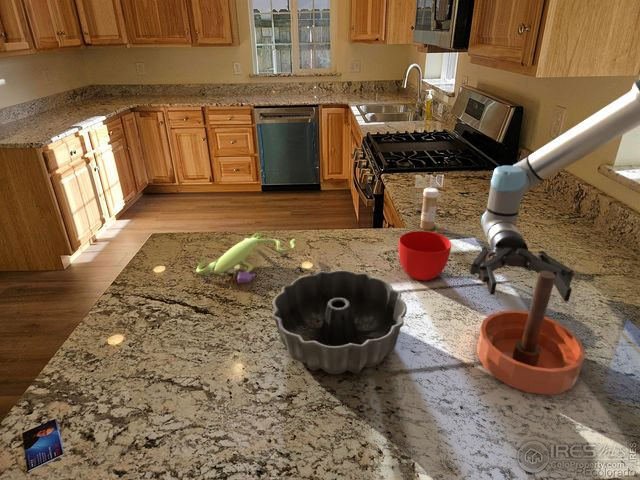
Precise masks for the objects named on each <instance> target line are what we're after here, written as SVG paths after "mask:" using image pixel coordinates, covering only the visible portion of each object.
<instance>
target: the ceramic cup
mask: <svg viewBox="0 0 640 480" xmlns="http://www.w3.org/2000/svg"><path fill="white" fill-rule="evenodd" d="M451 250H452V243H451V240H450V239H448V238H447V237H446V236H444V235H442V234H439V233H437V232H434V231H433V232H432V231H426V230H416V231H409V232H406V233H403V234H401V235H400V237H399V240H398V256H399V257H398V258H399V263H400V265H401V267H402V269H403V271H404V272H405V274H406V275H407V276H408V277H410V278H411V279H413V280H416V281H423V282H424V281H425V282H426V281H432V280H434V279H435V278H437V277H438V276H439V275H440V274H441V273H442V272H443V271H444V270H445V268H446V266H447V263H448V260H449V258H450V254H451Z"/></svg>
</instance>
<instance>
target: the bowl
mask: <svg viewBox="0 0 640 480" xmlns="http://www.w3.org/2000/svg"><path fill="white" fill-rule="evenodd" d="M528 314H529V311H523V310H502V311H498V312H495V313H491V314H490V315H488V316H487V317H485V318H484V319H483V321H482V323H481V326H480V330H479V335H478V340H477V344H476V353H477V358H478V360H479V361H480V363H481V365H482V367H483V368H484V369H485V370H486V371H487V372H488V373H489V374H491V375H492V377H494V378H496V379H497V380H499V381H501V382H502V383H504V384H505V385H507V386H509V387H511V388H514V389H517V390H520V391H522V392H525V393H531V394H538V395H556V394H562V393H564V392H566V391H568V390H570V389H572V387H574V385H575V384H576V382H577V381H578V378H579V376H580V372H581V369H582V367H583V365H584V361H585V355H586V354H585V353H586V350H585V347H584V345H583V344H582V342H581V339H580V338H579V337H578V336H577V335H576V334H574V332H573V331H572V330H571V329H569V328H568V327H566V326H565V325H562V324H561V323H560V322H558V321H556V320H553V319H551V318H549V317H546V316H545V317H544V321H543V324H542V328H541V332H540V335H539V339H538V343H537V345H538V346H539V347H540V349H541V352H540V356H539V360H538V363H537V365H536V366H535V367H533V366H530V365H527V364H524V363H521V362H517V361H515V360H514V359H513V352H514V348H515V344H516V342H517V341H519V340H522V338H523V334H524V330H525V326H526V322H527V318H528Z"/></svg>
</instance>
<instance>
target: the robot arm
mask: <svg viewBox="0 0 640 480" xmlns="http://www.w3.org/2000/svg"><path fill="white" fill-rule="evenodd" d="M639 126H640V79H638V80H637V81H635V82H633V85H632V88H631V89H630V90H629V91H628V92H626V93H625V94H622V95H621V96H620V97H619V98H617V99H615V100H614V101H613V102H611V103H609V104H608V105H606V106H604V107H603V108H601V109H600V110H598V111H597V112H595V113H593V114H592V115H590V116H589V117H587V118H585V119H584V120H583V121H581V122H580V123H578V124H576V125H575V126H573V127H571V128H570V129H568V130H567V131H565V132H564V133H562V134H561V135H559V136H557V137H556V138H555V139H553V140H551V141H549V142H548V143H546V144H545V145H544V146H542V147H540V148H539V149H537V150H536V151H534V152H532V153H531V154H529V155H528V156H527V157H525V158H523V159H522V160H520V161H518V162H515V163H513V165H502V166H497V167H496V168H494V170H493V172H492V173H493V174H492V176H491V177H492V178H491V179H490V188H489V192H488V194H489V195H488V200H487V206H486V210H485V212H484V213H483V214H482V216H481V220H480V222H481V228H482V232H483V234H484V235H485V238H486V241H487V242H488V246H489V248H490V249H488V247H487V246H481V249H480V252H479V253H478V254H477V255H476V256H475V258H474V259H473V260H472V261H471V263H470V268H469V274H470V275H476V274H477V275H478V276H477V279H478V280H481V282H482V283H485V284H486V287H487V289H488V292H489V295H491V296H494V295H495V293H496V289H497V281H496V278H495V275H494V271H496V270H498V269H502V268H504V267H505V266H507V267H518V268H522V269H524V270H526V271H528V272H530V271H533V272H535V273H537V274H539V272H540V271H549V272H551V273H553V274H555V276H556V277H555V280H554V284H553V286H555V288H556V290H557V292H558V294H559V295H560V296H561V299H562V300H563V301H564V302H569V300H570V298H571V294H572V291H573V289H572V287H571V282H572V280H573V277H574V273H575V271H574V269H572V268H570V267H568V266H566V265H565V264H563V263H562V262H560V261H559V260H557V259H555V258H553V257H551V256H550V255H548V253H547V252H546V251H544V250H539V251H538V253H533V252H532V251H531V250H529V247H528V243H527V242H526V240H525V239H524V236H523V235H522V233H521V231H520V230H519V229H518V227H517V221H518V216H519V212H520V206H521V202H522V198H523V196H525V194H526V193H528V191H530V190H531V189H532V188H534V187H535V186H537V185H539V184H541V183H543V182H544V181H545V180H547V179H549V178H550V177H552V176H554V175H555V174H557V173H559V172H561V171H562V170H565V169H566V168H569V166H571V165H573V164H575V163H576V162H578V161H580V160H583V158H585V157H587V156H589V155H591V154H592V153H594V152H596V151H598V150H599V149H601V148H602V147H604V146H607V144H609V143H612V142H613V141H614V140H616V139H618V138H620V137H622V136H624V135H625V134H627V133H628V132H629V133H630V132H631V131H632V130H634V129H635V128H638V127H639ZM491 257H492V258H491ZM489 258H490V259H489Z"/></svg>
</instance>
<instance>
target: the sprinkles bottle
mask: <svg viewBox="0 0 640 480" xmlns="http://www.w3.org/2000/svg"><path fill="white" fill-rule="evenodd" d="M438 197H439V189H438V188H434V187H425V188H424V189H423V201H422V209H421V215H420V216H421V217H420V218H421V219H420V225H419V227H420V228H421V229H423V230H429V231H430V230H433V229H435V221H436V215H437V207H438Z"/></svg>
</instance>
